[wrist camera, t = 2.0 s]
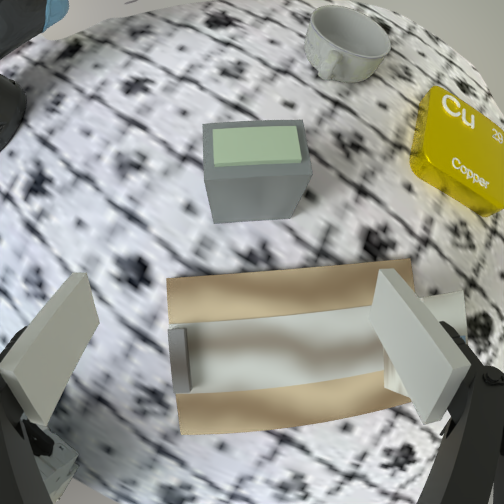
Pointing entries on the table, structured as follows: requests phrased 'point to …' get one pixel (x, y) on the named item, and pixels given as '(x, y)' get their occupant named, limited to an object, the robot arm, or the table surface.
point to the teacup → (345, 44)
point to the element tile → (459, 152)
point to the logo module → (255, 169)
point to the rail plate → (285, 346)
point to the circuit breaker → (51, 457)
